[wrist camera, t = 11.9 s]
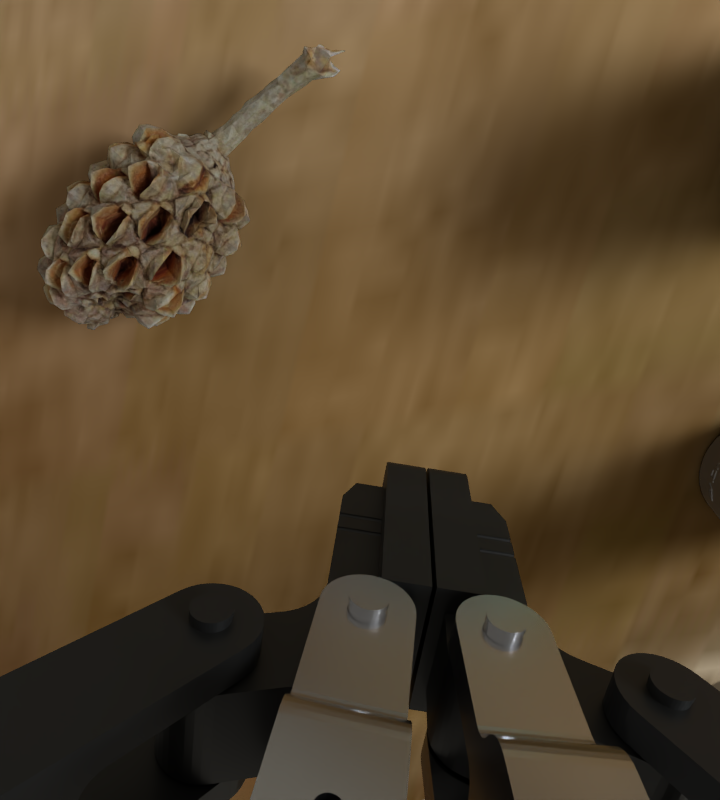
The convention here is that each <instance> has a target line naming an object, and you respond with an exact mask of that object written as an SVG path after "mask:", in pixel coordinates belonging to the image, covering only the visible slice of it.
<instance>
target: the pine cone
mask: <svg viewBox="0 0 720 800" xmlns="http://www.w3.org/2000/svg"><path fill="white" fill-rule="evenodd" d="M341 52H344V51H335V50H329V49H327V48H325V47H324V46H322V45H321V44H320V45H318V46H317V47H314V48H310V47H304V50H303V54H302V55H301V56H300V57H299V58H298V59H297V60H296V61H295V62H294V63H292V64H291V65H290V66H289V67H288V68H287V69H286V70H285V71H284V72H283V73H282V74H281V75H280V76H279V77H277V78H276V79H274V80H273V81H272V82H270V83H269V84H268V85H267V86H266V87H265V88H264V89H263V90H262V91H260V92H259V93H258V94H257V95H256V96H254V97H253V98H251V99H250V100H248V101H247V102H246V103H245V104H244V105H243V107H242V108H241V110H240V111H238V112H237V113H235V114H234V115H232V117H231V119H230V120H229V121H228V122H227V123H226V124H225V125H223V126H222V127H220V128H218V129H217V130H215V131H214V132H212V133H210V132H208V131H207V130H206V131H205V132H204V134H195V135H192V136H188V135H187V134H178V135H177V136H176V135H172V134H170V133H168V132H166V131H164V130H163V129H161V128H158V127H155V126H152V125H149V124H146V125H139V126H138V128H137V129H136V131H135V133H134V134H133V136H132V138H133V143H134V144H131V143H128V142H123V143H114V144H112V145H110V146H109V148H108V157H107V160H104V161H101V162H98V163H94V164H91V165H90V167H89V173H88V176H89V179H90V182H87V181H77V182H75V183H73V184H72V185H70V186H68V187H67V192H68V195H67V201H66V203H65V204H63V205H61V206H60V207H58V208H56V213H57V224H56V225H50V226H49V227H48V228H47V230H46V232H45V233H44V235H43V238H42V239H41V247H42V249H43V251H44V253H45V256H43V257H42V258H41V259H39V263H38V268H37V269H38V271H39V273H40V274H41V276H42V278H43V279H44V281H45V283H46V284H45V285H44V287H43V290H44V292H45V295H46V298H47V300H48V301H49V302H50V304H54V305H55V306H57V307H58V308H60V309H62V310H64V315H65V316H66V317H68V318H70V319H71V320H73V321H75V322H76V323H78V324H87V328H88V329H93V330H95V329H96V328H97V327H98V326H99V325H103V324H108V322H109V320H110V319H112V318H115V317H117V316H118V315H119V313H123V314H124V315H125V316H126V318H136V319H137V321H138V322H139V323H140V324H141V325H143V326H145V327H147V328H148V329H149V328H150V327H152V326H154V325H155V326H158V325H159V324H161V323H163V322H165V321H167V320H169V318H170V317H175V315H176V313H177V314H190V312H191V310H192V308H193V307H194V305H195V300H201V299H205V298H207V294H208V291H209V289H210V286H211V284H212V283H211V278H210V277H214V276H218V275H222V274H224V272H225V269H226V266H227V262H226V256H228V255H233V254H234V253H235V252H236V251H237V250H238V249H239V248H240V247H241V246H242V245H241V240H240V234H239V231H238V229H241V228H242V227H243V226H245V225H246V224H247V223H248V222H250V219H249V214H248V210H247V208H246V206H245V201H244V200H243V199H242V198H241V197H240V196H239V195H238V194H237V193H236V192H235V190H234V189H235V184H234V179H233V175H232V173H231V170H230V164H229V157H228V156H227V155H228V154H229V153H230V152H231V151H232V150H234V149H235V148H236V147H237V146H238V145H239V144H240V143H241V142H242V141H243V140H244V139H245V138H246V136H247V135H248V134H249V133H250V132H251V131H252V129H254V128H255V127H256V126H257V125H259V124H260V123H261V122H263V121H264V120H265V119H266V118H267V117H268V116H269V115H270V114H271V113H272V112H273V110H274V109H276V108H277V107H278V106H279V105H280V104H281V103H282V102H283V101H284V100H285V99H287V98H288V97H289V96H291V95H292V94H294V93H295V92H297V91H298V90H300V89H301V88H303V87H304V86H306V85H307V84H308V83H309V82H310V81H311V80H316V79H322V78H328V77H334V76H335V75H336V74H337V73H338V72H339V71H340V70H339V69H337V68H336V67H335V66H334V65H333V64H332V62H331V61H330V57H331V56H334V55H336V54H339V53H341Z"/></svg>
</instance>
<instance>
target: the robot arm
mask: <svg viewBox="0 0 720 800" xmlns="http://www.w3.org/2000/svg"><path fill="white" fill-rule="evenodd" d="M699 484H700V488H701V492H702V495H703V497H704V498H705V500H706V502H707V504H708V505H709V506H710V507H711V509H712V510H713V511H714V512H715V514H716V515H717V516H718V517H719V519H720V435H719V436H718V437H717V438H716V439H715V441H714V442H713V443H712V444H711V446H710V447H709V448H708V450H707V452H706V454H705V456H704V458H703V460H702V464H701V468H700V474H699ZM408 705H409V709H412V710H418V711H424V712H427V731H426V735H425V739H424V743H423V747H422V751H421V766H422V776H423V785H424V795H425V800H720V691H718V690H717V689H716V688H714V687H713V686H712V685H710V684H709V683H708V682H706V681H705V680H704V679H702V678H701V677H700V676H698V675H697V674H696V673H694V672H693V671H691V670H690V669H688V668H686V667H685V666H683V665H681V664H679V663H677V662H675V661H673V660H670V659H667V658H665V657H662V656H658V655H654V654H646V653H636V654H630V655H627V656H625V657H623V658H622V659H620V660H619V662H618V663H617V664H616V667H615V669H614V672H613V673H612V672H610V671H607V670H605V669H602V668H600V667H597V666H595V665H592V664H590V663H587V662H585V661H582V660H580V659H578V658H575V657H573V656H571V655H569V654H567V653H565V652H564V651H562V650H560V649H559V648H558V647H557V644H556V642H555V639H554V637H553V634H552V632H551V630H550V628H549V626H548V625H547V623H546V622H545V621H544V620H543V619H542V618H541V617H540V615H538V614H537V613H536V612H535V611H533V610H532V609H530V608H529V607H527V603H526V599H525V595H524V591H523V587H522V583H521V579H520V575H519V571H518V567H517V563H516V559H515V558H514V551H513V547H512V544H511V543H510V536H509V532H508V528H507V524H506V521H505V520H504V519H503V518H502V516H501V515H500V514H499V513H498V512H497V511H496V510H495V508H494V507H493V506H492V505H491V504H486V503H479V502H473V501H471V496H470V490H469V485H468V479H467V475H466V474H461V473H455V472H448V471H442V470H436V469H429V468H428V469H427V471H426V469H425V468H422V467H416V466H410V465H403V464H397V463H391V462H387V466H386V470H385V475H384V481H383V486H382V487H378V486H371V485H365V484H359V483H356V484H355V485H354V486H353V487H352V488H351V489H350V490H349V491H347V492H346V493H345V494H344V495H343V498H342V504H341V510H340V516H339V521H338V527H337V533H336V539H335V544H334V550H333V556H332V562H331V568H330V573H329V579H328V583H327V586H326V587H325V588H324V589H323V591H322V593H321V595H320V597H319V598H317V599H316V600H315V601H314V602H312V603H310V604H308V605H307V606H304V607H302V608H299V609H295V610H291V611H285V612H275V613H264V612H263V610H262V607H261V605H260V604H259V603H258V601H257V600H256V599H255V598H254V597H253V596H252V595H250V594H249V593H247V592H246V591H244V590H242V589H240V588H237V587H234V586H230V585H225V584H215V583H212V584H200V585H195V586H191V587H188V588H185V589H183V590H180V591H178V592H176V593H174V594H172V595H170V596H168V597H166V598H164V599H162V600H159V601H157V602H155V603H153V604H151V605H149V606H147V607H145V608H143V609H141V610H139V611H137V612H134V613H132V614H130V615H128V616H126V617H124V618H122V619H120V620H118V621H116V622H114V623H112V624H109V625H107V626H105V627H103V628H101V629H99V630H97V631H95V632H93V633H91V634H89V635H86V636H84V637H82V638H80V639H78V640H76V641H74V642H72V643H70V644H68V645H66V646H64V647H61V648H59V649H57V650H55V651H53V652H51V653H49V654H47V655H45V656H43V657H41V658H39V659H36V660H34V661H32V662H30V663H28V664H26V665H24V666H22V667H20V668H18V669H16V670H13V671H11V672H9V673H7V674H5V675H3V676H1V677H0V800H229V799H230V798H232V797H233V796H234V795H235V794H236V793H237V792H238V790H239V789H240V788H241V786H242V784H243V782H244V781H245V779H247V778H253V777H257V780H256V783H255V786H254V789H253V792H252V795H251V799H250V800H407V788H408V775H409V763H410V750H411V737H412V722H411V721H409V720H407V717H408Z"/></svg>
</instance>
